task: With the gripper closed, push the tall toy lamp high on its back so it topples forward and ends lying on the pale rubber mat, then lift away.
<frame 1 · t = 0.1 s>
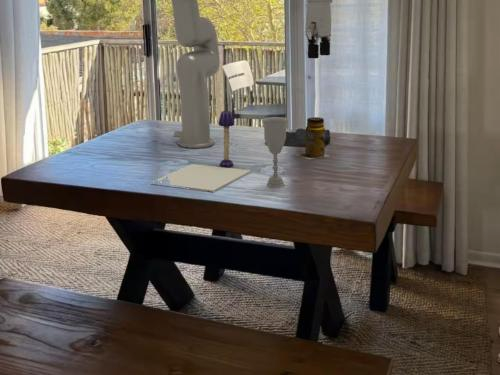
hand: (319, 56, 204), 31 cm above the table, tool pointing down, fingers open, 9 cm apart
mat: (202, 178, 191), on the table
chalice: (275, 185, 183), on the table
condiment: (312, 156, 214), on the table
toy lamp: (227, 166, 203), on the table
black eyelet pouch: (298, 143, 234), on the table
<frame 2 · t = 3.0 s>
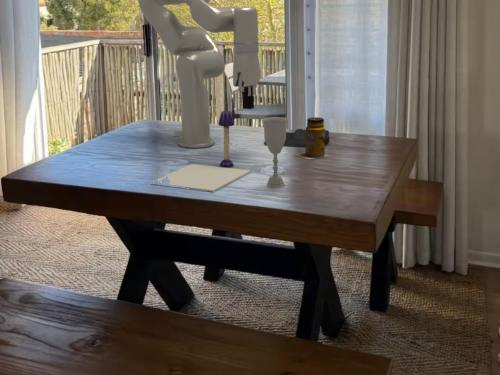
hand: (248, 108, 211), 15 cm above the table, tool pointing down, fingers closed
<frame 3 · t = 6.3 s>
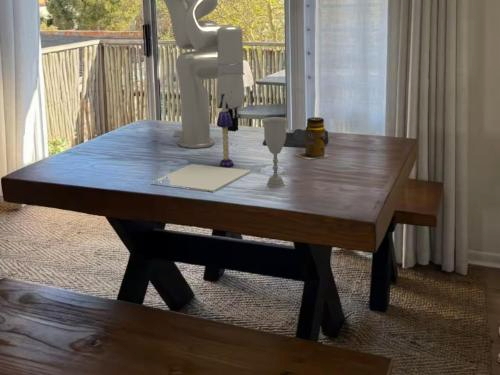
hand: (232, 130, 203), 10 cm above the table, tool pointing down, fingers closed
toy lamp: (227, 166, 203), on the table, touching gripper
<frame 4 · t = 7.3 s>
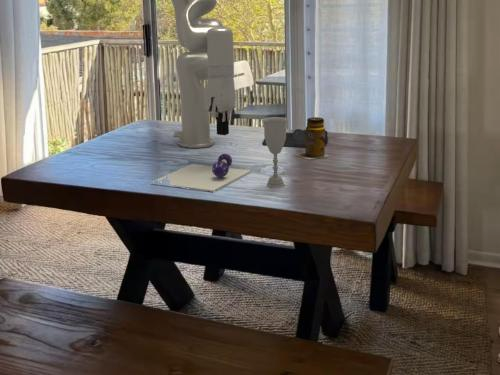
hand: (222, 134, 199), 10 cm above the table, tool pointing down, fingers closed
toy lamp: (225, 161, 201), point 2 cm above the table, touching mat
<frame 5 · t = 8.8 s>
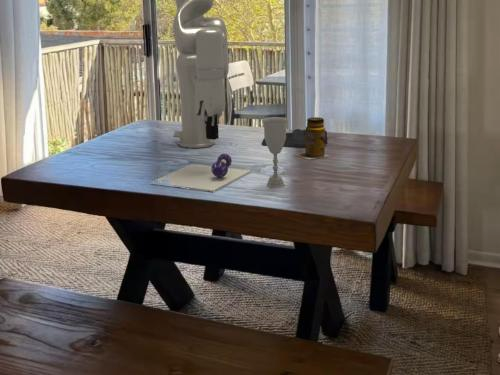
hand: (212, 138, 193), 10 cm above the table, tool pointing down, fingers closed
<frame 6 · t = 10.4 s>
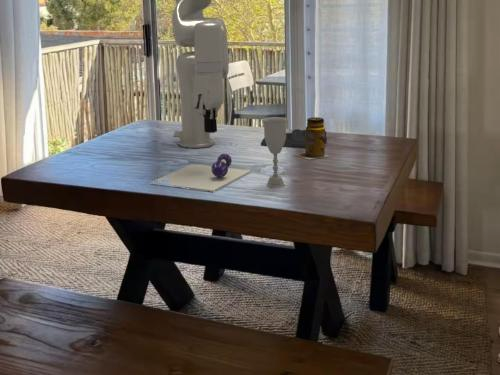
hand: (210, 131, 193), 12 cm above the table, tool pointing down, fingers closed
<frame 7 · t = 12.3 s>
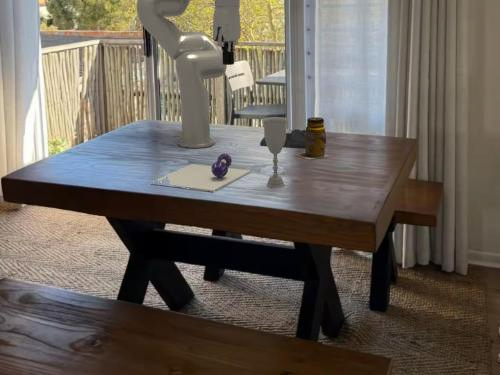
hand: (228, 64, 210), 29 cm above the table, tool pointing down, fingers closed
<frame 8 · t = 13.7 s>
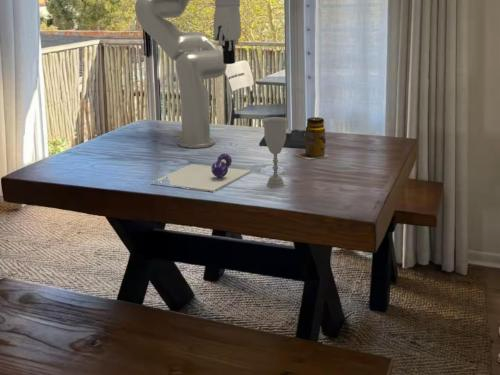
hand: (229, 63, 210), 29 cm above the table, tool pointing down, fingers closed
at the end: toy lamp tilted 85°; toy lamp touching mat, table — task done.
